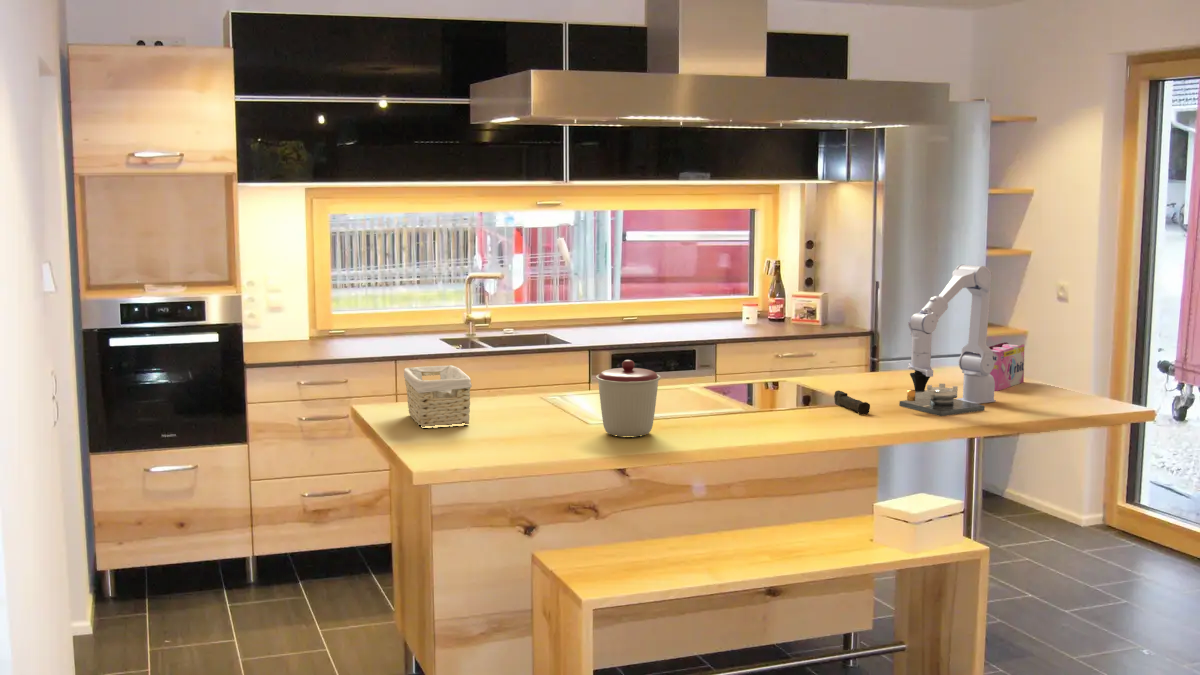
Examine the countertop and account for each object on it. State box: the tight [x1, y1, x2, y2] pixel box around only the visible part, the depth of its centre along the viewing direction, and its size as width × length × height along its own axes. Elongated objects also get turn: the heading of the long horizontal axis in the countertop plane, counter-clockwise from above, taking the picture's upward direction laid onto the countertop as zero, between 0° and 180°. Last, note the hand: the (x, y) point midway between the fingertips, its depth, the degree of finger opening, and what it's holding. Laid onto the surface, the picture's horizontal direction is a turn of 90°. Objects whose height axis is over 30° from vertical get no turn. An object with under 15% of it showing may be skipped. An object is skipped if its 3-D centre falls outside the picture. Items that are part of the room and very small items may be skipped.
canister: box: [595, 359, 662, 437], centre depth 327 cm, size 18×18×21 cm
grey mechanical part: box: [906, 382, 959, 401], centre depth 362 cm, size 19×9×4 cm, turn 120°
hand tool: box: [833, 390, 871, 415], centre depth 364 cm, size 19×4×5 cm, turn 14°
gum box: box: [977, 342, 1025, 392], centre depth 403 cm, size 24×8×14 cm, turn 139°
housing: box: [898, 398, 986, 417], centre depth 364 cm, size 18×18×4 cm
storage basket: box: [403, 364, 472, 427], centre depth 345 cm, size 24×16×15 cm
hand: (919, 395), depth 362 cm, fingers closed, pressing on grey mechanical part
